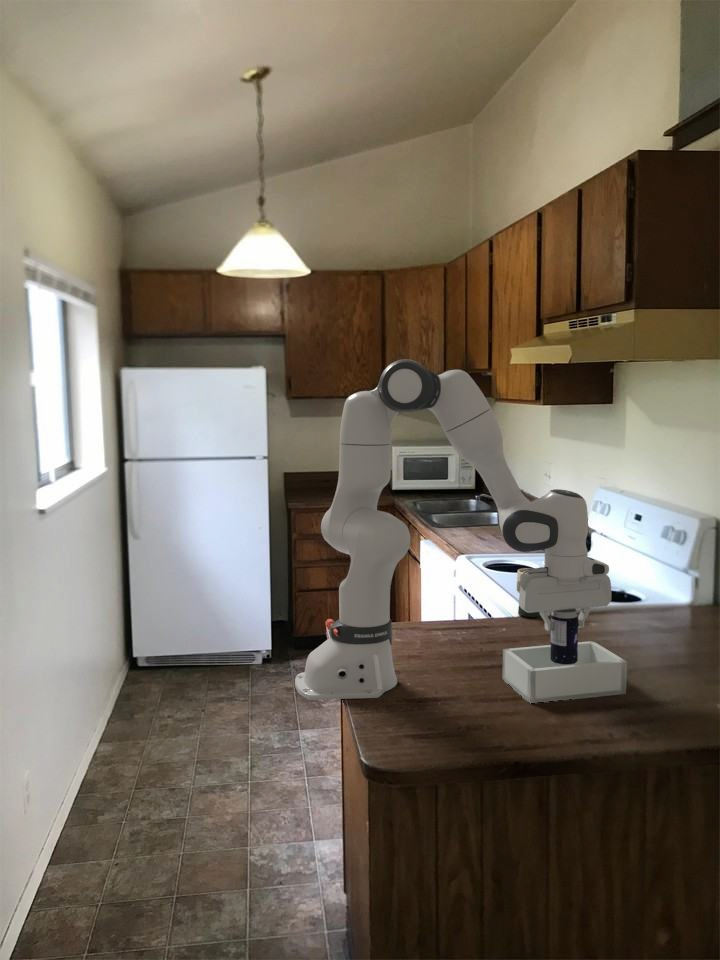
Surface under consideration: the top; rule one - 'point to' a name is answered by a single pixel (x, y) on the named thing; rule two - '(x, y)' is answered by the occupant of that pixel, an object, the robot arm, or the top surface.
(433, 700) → the top surface
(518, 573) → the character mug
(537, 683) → the crate
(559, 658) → the beverage can
